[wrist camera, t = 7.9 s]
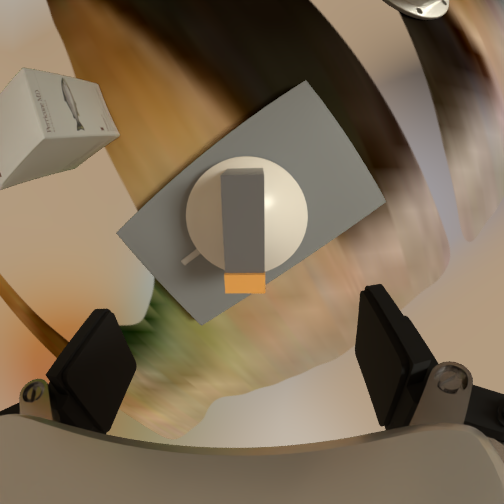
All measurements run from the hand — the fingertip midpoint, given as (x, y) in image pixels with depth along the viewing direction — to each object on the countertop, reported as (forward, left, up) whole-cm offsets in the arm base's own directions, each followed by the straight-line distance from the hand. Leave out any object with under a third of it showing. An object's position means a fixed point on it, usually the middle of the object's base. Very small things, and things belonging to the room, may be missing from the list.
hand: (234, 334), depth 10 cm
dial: (0, 0, -18) cm, 18 cm away
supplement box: (+8, -19, -20) cm, 29 cm away
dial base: (0, 0, -20) cm, 20 cm away
